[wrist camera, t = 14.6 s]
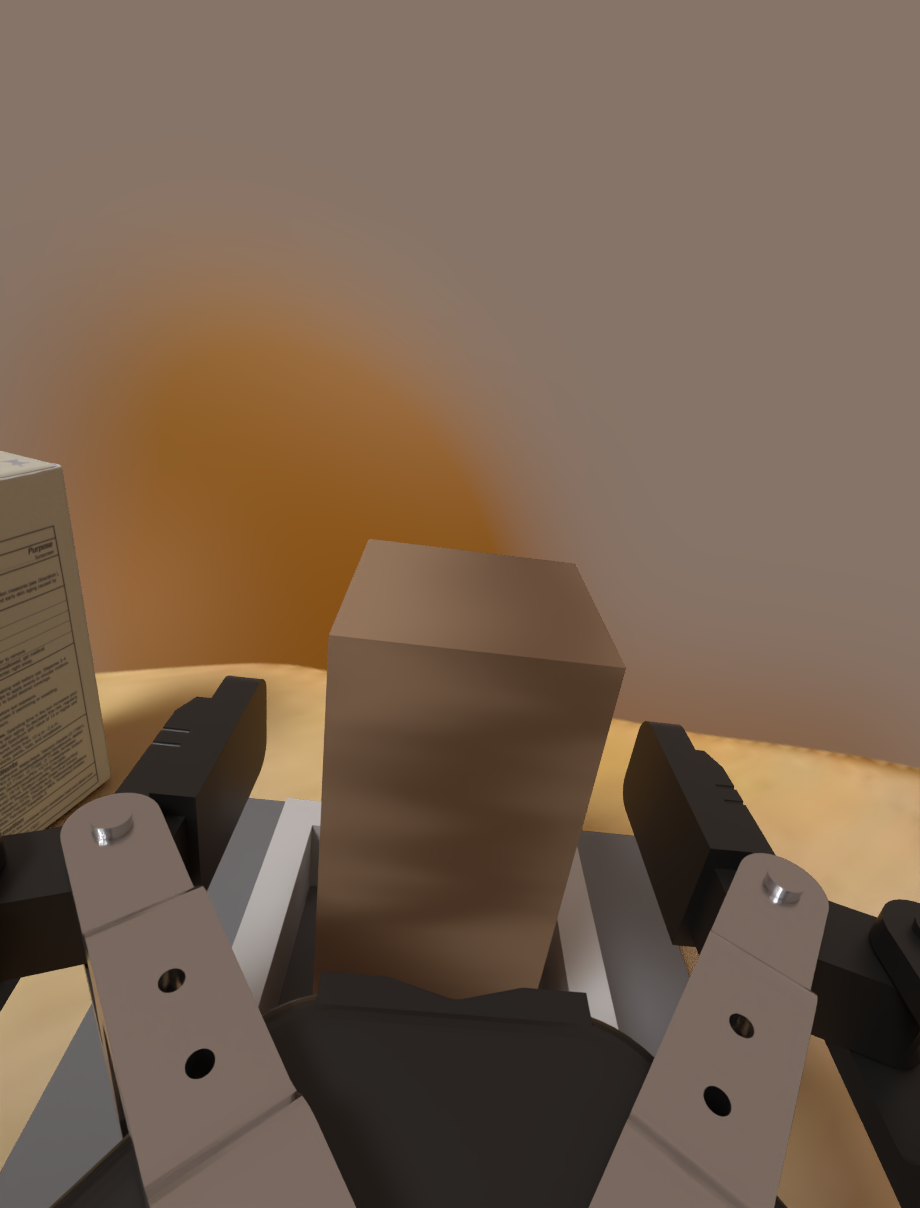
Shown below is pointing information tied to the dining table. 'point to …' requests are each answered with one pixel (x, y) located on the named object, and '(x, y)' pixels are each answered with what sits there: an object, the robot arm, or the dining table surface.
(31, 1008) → the dining table surface
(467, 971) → the walnut square peg
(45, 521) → the skincare box
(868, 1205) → the dining table surface
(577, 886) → the collar holder
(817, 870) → the dining table surface
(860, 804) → the dining table surface
